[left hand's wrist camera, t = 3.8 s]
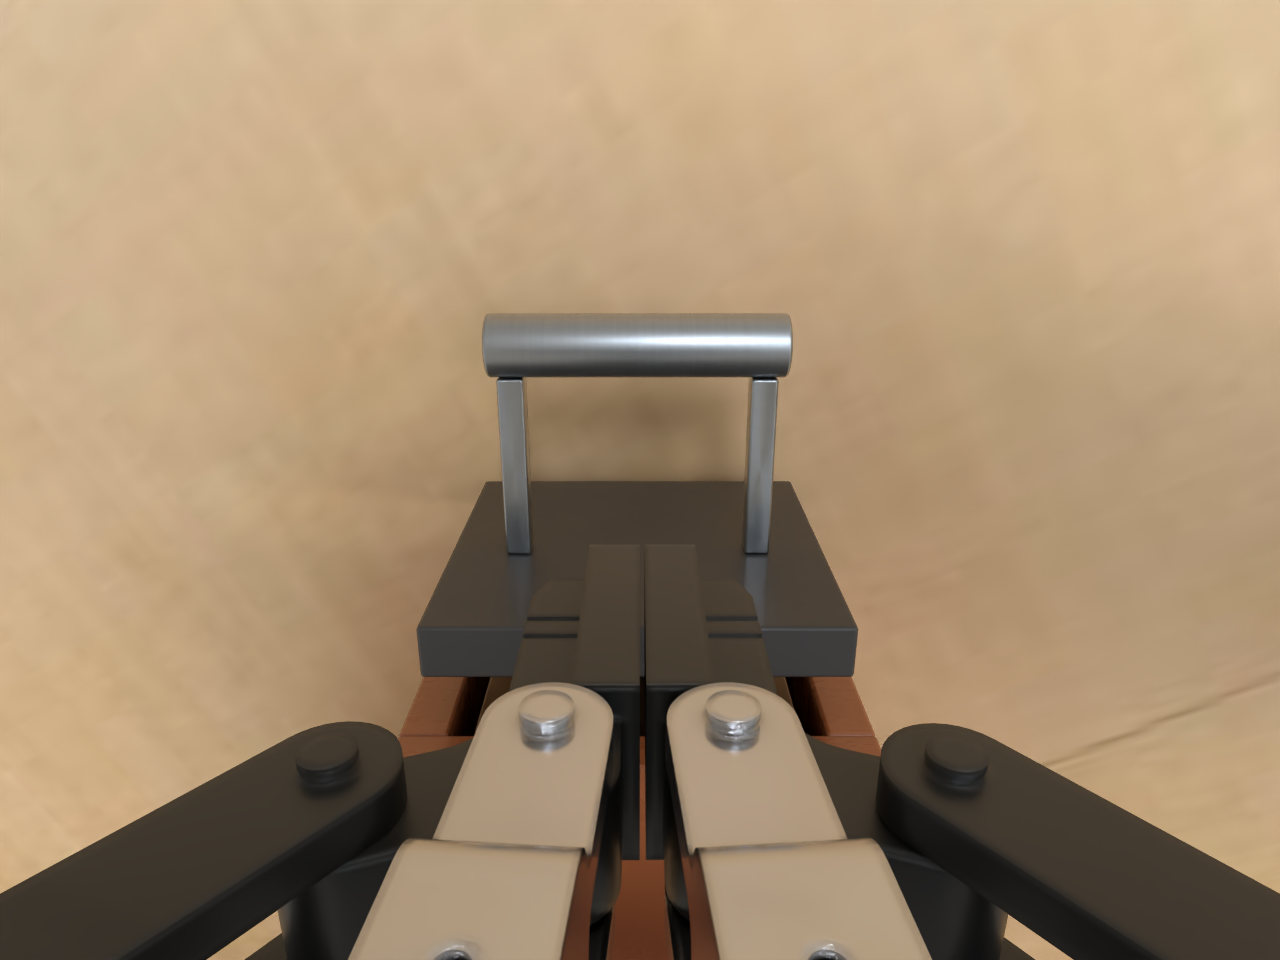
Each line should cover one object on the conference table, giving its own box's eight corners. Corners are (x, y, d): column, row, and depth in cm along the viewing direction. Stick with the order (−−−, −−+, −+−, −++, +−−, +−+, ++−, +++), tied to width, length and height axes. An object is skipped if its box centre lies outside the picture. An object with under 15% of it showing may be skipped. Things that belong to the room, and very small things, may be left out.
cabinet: (476, 546, 27) (384, 766, 18) (799, 546, 27) (890, 766, 18) (510, 1008, 34) (458, 1353, 25) (767, 1008, 34) (818, 1353, 25)
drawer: (472, 284, 24) (386, 349, 16) (803, 284, 24) (887, 349, 16) (517, 957, 32) (476, 1222, 24) (759, 957, 32) (799, 1222, 24)
